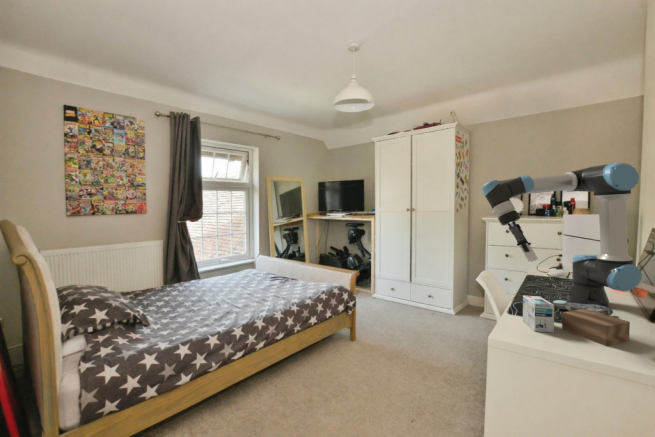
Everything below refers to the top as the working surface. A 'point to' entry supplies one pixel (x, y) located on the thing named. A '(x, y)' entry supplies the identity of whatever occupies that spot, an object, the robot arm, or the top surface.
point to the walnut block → (596, 326)
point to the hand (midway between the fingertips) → (533, 260)
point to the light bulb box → (538, 313)
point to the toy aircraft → (582, 307)
